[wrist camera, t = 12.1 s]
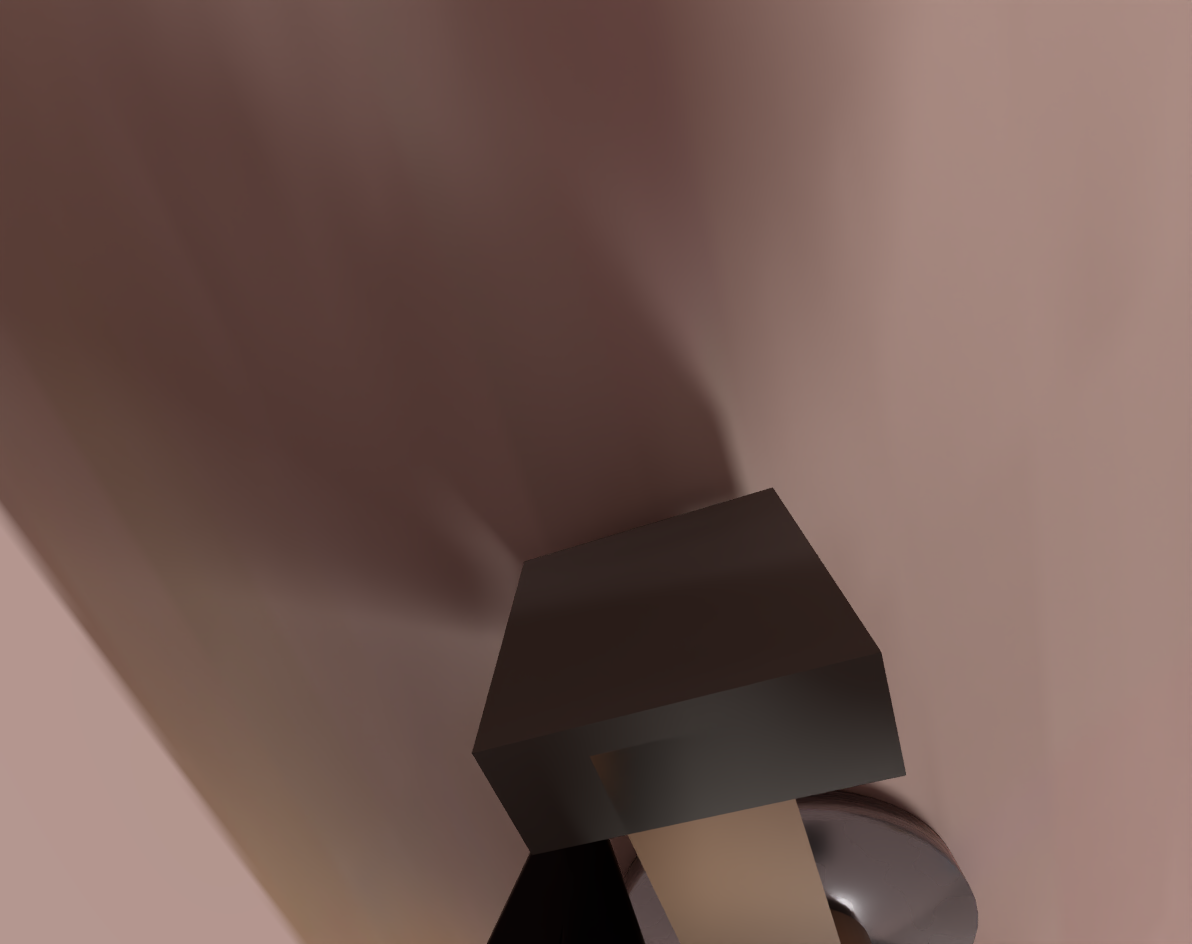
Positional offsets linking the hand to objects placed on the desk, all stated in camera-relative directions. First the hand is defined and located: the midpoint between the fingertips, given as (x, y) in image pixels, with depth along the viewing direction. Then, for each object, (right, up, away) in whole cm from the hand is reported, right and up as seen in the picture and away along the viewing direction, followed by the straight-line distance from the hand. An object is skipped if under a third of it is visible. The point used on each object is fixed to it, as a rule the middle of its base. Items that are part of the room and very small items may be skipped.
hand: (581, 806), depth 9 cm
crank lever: (+3, -1, +2) cm, 4 cm away
